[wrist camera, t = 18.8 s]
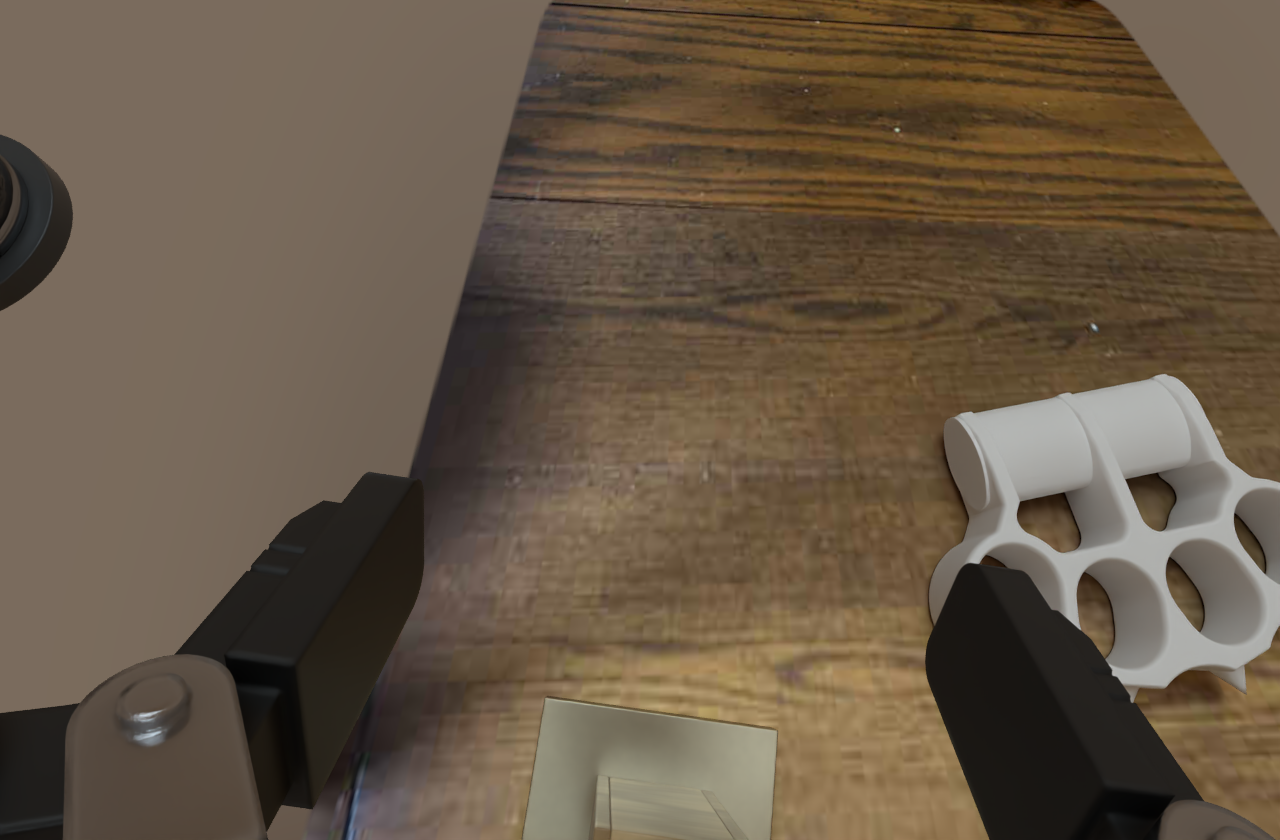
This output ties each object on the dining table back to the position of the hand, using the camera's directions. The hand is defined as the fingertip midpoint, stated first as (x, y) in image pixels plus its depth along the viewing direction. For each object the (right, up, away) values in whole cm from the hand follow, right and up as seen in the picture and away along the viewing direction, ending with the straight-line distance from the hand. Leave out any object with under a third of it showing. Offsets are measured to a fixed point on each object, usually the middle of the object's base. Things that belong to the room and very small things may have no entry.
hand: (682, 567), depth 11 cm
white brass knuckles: (+21, -4, +24) cm, 32 cm away
